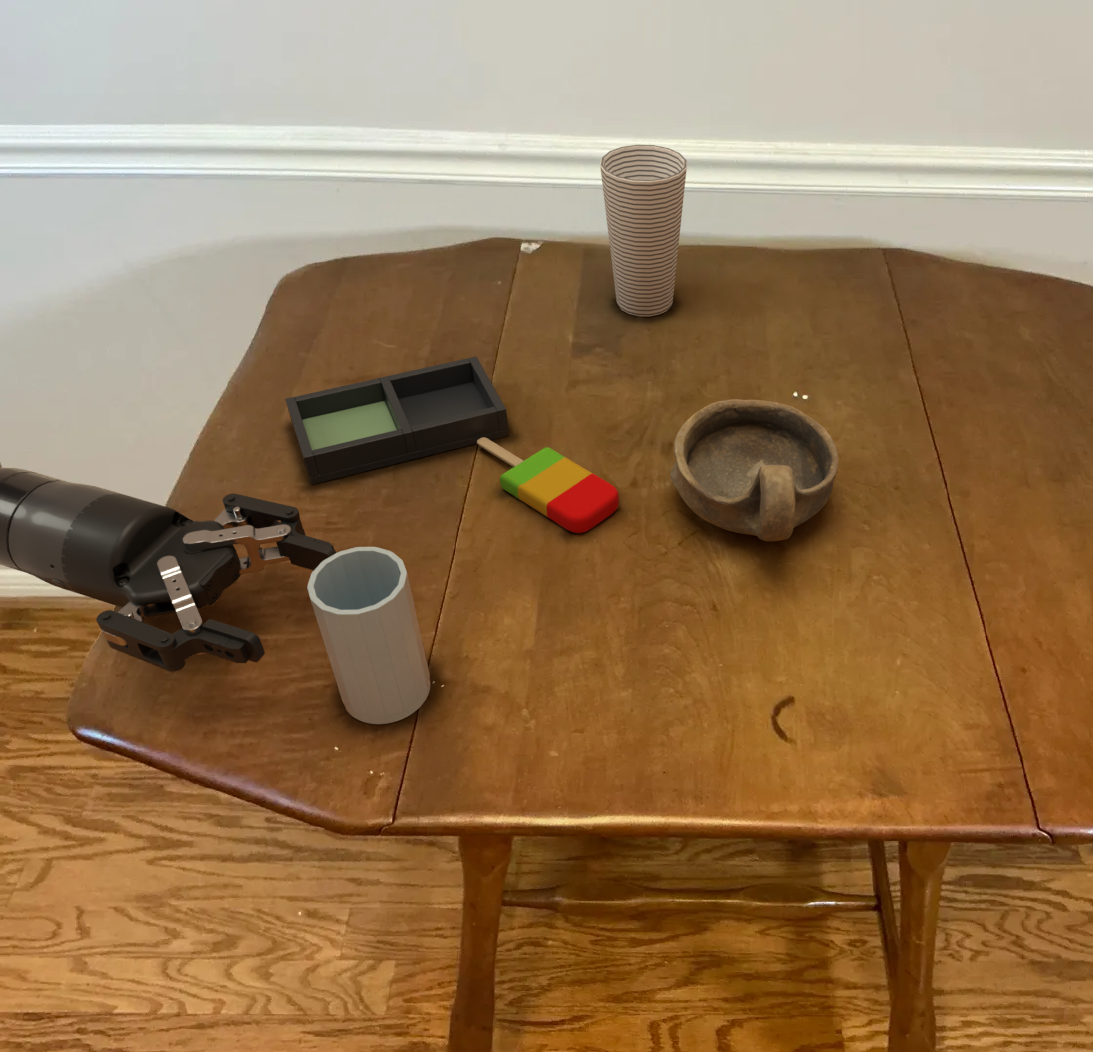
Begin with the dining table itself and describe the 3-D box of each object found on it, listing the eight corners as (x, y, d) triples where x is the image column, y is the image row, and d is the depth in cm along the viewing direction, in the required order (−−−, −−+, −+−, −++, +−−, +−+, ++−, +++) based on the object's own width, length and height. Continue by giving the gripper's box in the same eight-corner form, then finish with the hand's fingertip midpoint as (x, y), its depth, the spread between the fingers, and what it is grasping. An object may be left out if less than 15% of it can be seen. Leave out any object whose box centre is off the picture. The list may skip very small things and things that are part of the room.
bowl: (816, 448, 97) (828, 354, 90) (855, 587, 84) (872, 490, 77) (664, 453, 95) (665, 359, 89) (679, 595, 83) (681, 497, 76)
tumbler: (352, 736, 72) (317, 625, 65) (334, 673, 76) (299, 561, 69) (440, 707, 74) (416, 596, 67) (418, 647, 78) (393, 536, 71)
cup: (616, 278, 118) (612, 140, 108) (691, 288, 117) (695, 149, 106) (595, 318, 112) (589, 175, 101) (675, 328, 111) (677, 185, 100)
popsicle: (579, 540, 87) (578, 523, 86) (456, 462, 94) (454, 445, 92) (625, 506, 90) (625, 489, 89) (503, 433, 97) (501, 417, 96)
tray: (311, 485, 91) (303, 457, 89) (292, 425, 97) (285, 398, 95) (509, 436, 97) (506, 408, 95) (480, 382, 103) (476, 356, 101)
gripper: (0, 572, 68) (214, 641, 64) (155, 444, 78) (348, 497, 74) (45, 650, 73) (246, 718, 69) (186, 520, 83) (368, 573, 79)
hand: (299, 603), depth 72 cm, fingers open, 8 cm apart
